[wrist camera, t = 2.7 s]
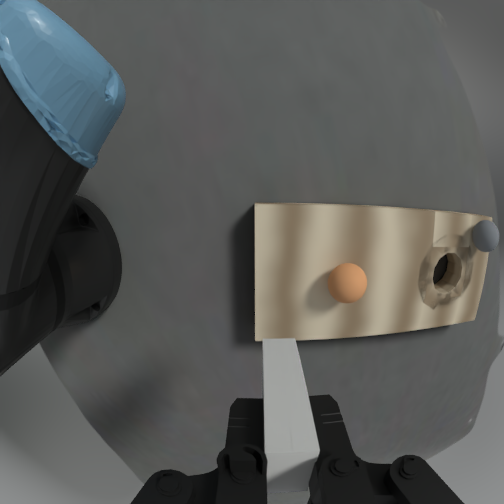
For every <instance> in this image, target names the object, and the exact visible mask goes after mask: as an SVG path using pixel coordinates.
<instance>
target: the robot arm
mask: <svg viewBox="0 0 504 504" xmlns="http://www.w3.org/2000/svg"><path fill="white" fill-rule="evenodd" d="M125 99H126V92H125V87H124V84H123V82H122V80H121V78H120V76H119V75H118V73H117V72H116V71H115V69H114V68H113V67H112V66H111V65H110V64H109V63H108V62H107V61H106V60H105V59H104V58H103V57H102V56H101V55H100V54H99V53H98V52H97V51H96V50H95V49H94V48H93V47H92V46H91V45H90V44H89V43H88V42H87V41H86V40H85V39H84V38H83V37H82V36H81V35H79V34H78V33H77V32H76V31H75V30H74V29H73V28H71V27H70V26H69V25H68V24H67V23H66V22H64V21H63V20H62V19H61V18H60V17H58V16H57V15H56V14H55V13H53V12H52V11H51V10H49V9H48V8H47V7H45V6H44V5H43V4H41V3H40V2H38V1H37V0H0V376H1V375H2V374H4V373H5V372H6V371H7V370H8V369H9V368H10V367H11V366H12V365H14V364H15V363H16V362H17V361H18V360H19V359H20V358H22V357H23V356H24V355H25V354H26V353H27V352H29V351H30V350H31V349H32V348H33V347H34V346H35V345H37V344H38V343H39V342H40V341H42V340H43V339H44V338H45V337H46V336H48V335H49V334H50V333H51V332H52V331H54V330H55V329H56V328H60V327H65V326H69V325H74V324H79V323H83V322H87V321H89V320H92V319H93V318H95V317H97V316H98V315H99V314H100V313H102V312H103V311H104V310H105V309H106V308H107V307H108V306H109V305H110V304H111V303H112V301H113V300H114V298H115V296H116V294H117V292H118V289H119V286H120V281H121V274H122V262H121V253H120V248H119V244H118V241H117V238H116V235H115V233H114V230H113V228H112V226H111V224H110V223H109V221H108V219H107V218H106V216H105V215H104V214H103V213H102V211H101V210H100V209H99V208H98V207H97V206H96V205H94V204H93V203H92V202H90V201H89V200H87V199H85V198H83V197H81V196H78V195H75V194H76V192H77V190H78V188H79V186H80V184H81V183H82V181H83V179H84V177H85V175H86V173H87V172H88V170H89V168H92V167H94V166H95V164H96V163H97V160H98V156H97V154H98V152H99V150H100V149H101V147H102V145H103V143H104V141H105V140H106V138H107V136H108V134H109V133H110V131H111V129H112V127H113V126H114V124H115V122H116V121H117V119H118V118H119V116H120V114H121V112H122V110H123V108H124V105H125ZM217 464H218V468H216V469H215V470H213V471H211V472H209V473H205V474H200V475H193V476H187V475H185V474H183V473H182V472H180V471H176V470H171V469H170V470H161V471H159V472H156V473H154V474H153V475H152V476H151V477H150V478H149V479H148V480H147V482H146V483H145V484H144V486H143V487H142V489H141V490H140V491H139V493H138V494H137V496H136V497H135V498H134V500H133V501H132V502H131V504H267V493H286V492H300V491H307V490H308V487H309V490H310V498H309V501H308V503H307V504H464V503H463V502H462V501H461V500H460V499H459V498H458V496H457V495H456V494H455V493H454V492H453V491H452V490H451V489H450V488H449V487H448V485H447V484H445V482H444V481H443V480H442V479H441V478H440V477H439V476H438V474H436V472H435V471H434V470H433V469H432V468H431V467H430V466H429V465H428V464H427V462H426V461H425V460H423V459H422V458H421V457H418V456H415V455H405V456H402V457H399V458H397V459H396V460H395V461H394V462H393V463H392V464H375V463H368V462H366V461H363V460H361V458H359V457H358V456H356V455H355V453H354V451H353V449H352V446H351V443H350V440H349V437H348V434H347V431H346V428H345V425H344V422H343V418H342V415H341V414H340V409H339V406H338V403H337V402H336V401H335V400H334V399H333V398H332V397H331V396H330V395H318V396H308V392H307V388H306V383H305V379H304V374H303V370H302V366H301V361H300V357H299V353H298V348H297V344H296V340H295V338H283V339H263V347H262V399H253V398H237V399H236V400H235V401H234V403H233V404H232V405H231V407H230V413H229V421H228V429H227V437H226V445H225V448H224V449H223V450H222V451H221V452H220V453H219V455H218V457H217Z"/></svg>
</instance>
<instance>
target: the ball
mask: <svg viewBox="0 0 504 504" xmlns="http://www.w3.org/2000/svg"><path fill="white" fill-rule="evenodd" d="M366 288H367V278H366V275H365V273H364V271H363V270H362V269H361V268H360V267H359V266H357V265H355V264H352V263H344V264H340V265H338V266H337V267H335V268H334V269H333V270H332V272H331V273H330V275H329V278H328V289H329V292H330V294H331V295H332V297H333V298H334V299H335V300H337V301H339V302H341V303H353V302H356V301H357V300H359V299H360V298H361V297H362V296H363V295H364V293H365V291H366Z"/></svg>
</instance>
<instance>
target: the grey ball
mask: <svg viewBox="0 0 504 504" xmlns="http://www.w3.org/2000/svg"><path fill="white" fill-rule="evenodd" d="M472 238H473V242H474V245H475V246H476V248H477V249H478V250H480V251H482V252H490V251H492V250H494V249H495V247H496V246H497V244H498V241H499V232H498V229H497V227H496V225H495V224H494V223H493V222H491V221H489V220H482V221H480V222H478V223H477V224H476V225H475V227H474V229H473V233H472Z"/></svg>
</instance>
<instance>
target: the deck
mask: <svg viewBox="0 0 504 504" xmlns="http://www.w3.org/2000/svg"><path fill="white" fill-rule="evenodd" d="M482 220H489V221H491V222H492V217H487V216H482V215H477V214H468V213H459V212H449V211H439V210H427V209H415V208H401V207H386V206H368V205H346V204H316V203H255V341H263V339H283V338H295V340H317V339H335V338H349V337H361V336H371V335H381V334H390V333H398V332H406V331H413V330H420V329H427V328H433V327H439V326H445V325H451V324H456V323H462V322H467V321H472V320H475V316H476V313H477V309H478V305H479V301H480V297H481V292H482V287H483V283H484V278H485V272H486V266H487V260H488V253H489V252H482V251H480V250H478V249H477V248H476V246H475V245H474V242H473V238H472V233H473V229H474V227H475V225H476V224H477V223H478V222H480V221H482ZM445 254H446V255H447V259H448V264H447V271H446V272H445V274H444V276H443V278H442V279H441V280H440V281H438V282H437V283H436V284H434V283H433V274H434V268H435V266H436V264H437V263H438V261H439V259H440V258H441V257H443V256H444V255H445ZM344 263H352V264H355V265H357V266H359V267H360V268H361V269H362V270H363V271H364V273H365V275H366V278H367V288H366V291H365V293H364V295H363V296H362V297H361V298H360V299H359V300H357V301H356V302H353V303H341V302H339V301H337V300H335V299H334V298H333V297H332V295H331V294H330V292H329V289H328V278H329V275H330V273H331V272H332V270H333V269H334V268H335V267H337V266H338V265H340V264H344Z"/></svg>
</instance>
